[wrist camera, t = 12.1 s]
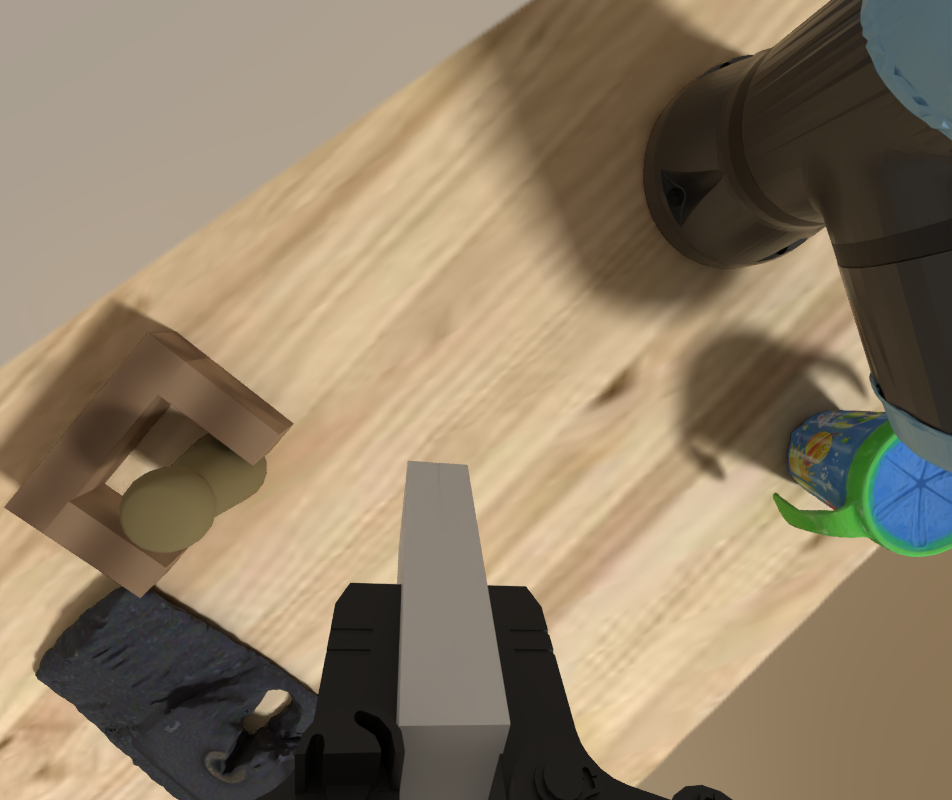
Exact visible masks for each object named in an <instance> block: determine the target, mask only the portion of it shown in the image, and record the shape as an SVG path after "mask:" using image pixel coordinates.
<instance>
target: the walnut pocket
mask: <svg viewBox="0 0 952 800" xmlns="http://www.w3.org/2000/svg"><path fill="white" fill-rule="evenodd" d="M170 405H173V406H174V407H175V408H177V409H178V410H179V411H181V412H182V413H183V414H185V415H186V416H187V417H189V418H190V419H191V420H193V421H194V422H195V423H197V424H198V425H199V426H201V427H202V428H203V429H205V430H206V431H207V432H209V433H210V434H211V435H213V436H214V437H215V438H217V439H218V440H219V441H221V442H222V443H223V444H225V445H226V446H227V447H229V448H230V449H231V450H233V451H234V452H235V453H237V454H238V455H239V456H241V457H242V458H243V459H245V460H246V461H247V462H249V463H250V464H251V465H254V464H256V463H257V462H258V461H259V460H260V459H262V458H263V457H264V456H265V455H266V454H268V453H269V452H270V451H271V450H272V449H273V447H274V446H275V445H276V444H277V443H278V442H279V440H280V439H281V438H282V437H283V436H284V434H285V433H286V432H287V431H288V430H289V429H290V427H291V426H292V425H293V423H292V422H291V421H290V420H288V419H287V418H286V417H284V416H283V415H282V414H281V413H279V412H278V411H277V410H275V409H274V408H273V407H272V406H270V405H269V404H268V403H267V402H265V401H264V400H263V399H261V398H260V397H259V396H258V395H256V394H255V393H254V392H252V391H251V390H250V389H249V388H247V387H246V386H245V385H244V384H242V383H241V382H240V381H238V380H237V379H236V378H235V377H233V376H232V375H231V374H229V373H228V372H227V371H226V370H224V369H223V368H222V367H221V366H219V365H218V364H217V363H215V362H214V361H213V360H212V359H210V358H209V357H208V356H206V355H205V354H204V353H203V352H201V351H200V350H199V349H197V348H196V347H195V346H194V345H192V344H191V343H190V342H189V341H187V340H186V339H185V338H183V337H182V336H181V335H180V334H178V333H177V332H158V333H147V334H146V336H145V337H144V338H143V339H142V340H141V342H140V343H139V344H138V345H137V347H136V348H135V349H134V350H133V351H132V353H131V354H130V355H129V356H128V357H127V359H126V360H125V361H124V362H123V364H122V365H121V366H120V367H119V368H118V370H117V371H116V372H115V373H114V374H113V376H112V377H111V378H110V379H109V381H108V382H107V383H106V384H105V385H104V387H103V388H102V389H101V390H100V391H99V393H98V394H97V395H96V396H95V398H94V399H93V400H92V401H91V402H90V404H89V405H88V406H87V407H86V408H85V410H84V411H83V412H82V413H81V414H80V416H79V417H78V418H77V419H76V421H75V422H74V423H73V424H72V425H71V427H70V428H69V429H68V430H67V431H66V433H65V434H64V435H63V436H62V438H61V439H60V440H59V441H58V442H57V444H56V445H55V446H54V447H53V448H52V450H51V451H50V452H49V453H48V455H47V456H46V457H45V458H44V459H43V461H42V462H41V463H40V464H39V465H38V467H37V468H36V469H35V470H34V472H33V473H32V474H31V475H30V476H29V478H28V479H27V480H26V481H25V482H24V484H23V485H22V486H21V487H20V489H19V490H18V491H17V492H16V493H15V495H14V496H13V497H12V498H11V499H10V501H9V502H8V503H7V504H6V506H5V507H4V508H6V509H7V510H9V511H10V512H12V513H13V514H15V515H16V516H18V517H19V518H21V519H22V520H24V521H25V522H27V523H28V524H30V525H31V526H33V527H34V528H36V529H37V530H39V531H40V532H42V533H43V534H45V535H46V536H48V537H49V538H51V539H52V540H54V541H55V542H57V543H58V544H60V545H61V546H63V547H64V548H66V549H67V550H69V551H70V552H72V553H73V554H75V555H76V556H78V557H79V558H81V559H82V560H84V561H85V562H87V563H88V564H90V565H91V566H93V567H94V568H96V569H97V570H99V571H100V572H102V573H103V574H105V575H106V576H108V577H109V578H111V579H112V580H114V581H115V582H117V583H118V584H120V585H121V586H123V587H124V588H126V589H127V590H129V591H130V592H132V593H133V594H135V595H136V596H138V597H139V598H141V597H142V596H143V595H144V594H145V593H146V592H147V591H148V590H149V589H150V588H151V587H152V586H153V585H154V584H155V583H156V582H157V581H158V580H160V579H161V578H162V577H163V576H164V575H165V574H166V573H167V572H168V571H169V570H170V568H171V567H172V566H173V565H174V564H175V562H176V561H177V560H178V559H179V558H180V557H181V555H182V554H183V553H184V552H185V551H186V550H187V548H188V547H187V548H185V549H182V550H178V551H175V552H171V553H158V552H153V551H150V550H147V549H143V548H141V547H140V546H138V545H136V544H135V543H133V542H132V541H131V540H130V539H129V538H128V536H127V535H126V534H125V533H124V531H123V528H122V526H121V523H120V514H119V506H120V503H121V500H122V497H123V496H121V495H120V494H118V493H117V492H115V491H114V490H113V489H111V488H110V487H108V486H107V485H105V482H106V481H107V480H108V479H109V478H110V476H111V475H112V474H113V473H114V472H115V470H116V469H117V468H118V467H119V466H120V464H121V463H122V462H123V461H124V460H125V458H126V457H127V456H128V455H129V454H130V452H131V451H132V450H133V449H134V448H135V446H136V445H137V444H138V443H139V442H140V440H141V439H142V438H143V437H144V436H145V434H146V433H147V432H148V431H149V430H150V428H151V427H152V426H153V425H154V424H155V422H156V421H157V420H158V419H159V418H160V416H161V415H162V414H163V413H164V412H165V410H166V409H167V408H168V407H169V406H170Z"/></svg>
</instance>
